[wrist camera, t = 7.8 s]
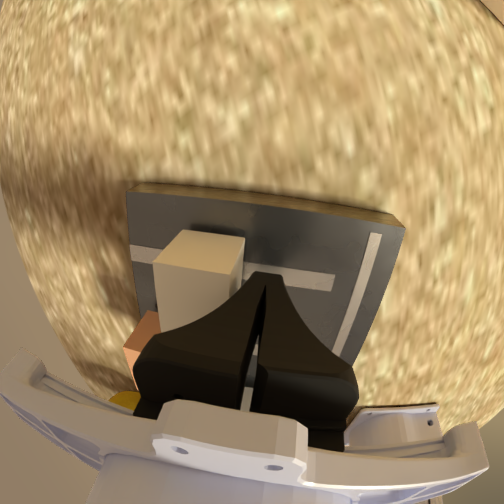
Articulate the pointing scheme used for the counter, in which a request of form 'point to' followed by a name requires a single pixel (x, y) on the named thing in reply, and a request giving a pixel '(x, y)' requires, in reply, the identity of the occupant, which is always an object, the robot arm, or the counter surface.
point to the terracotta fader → (141, 337)
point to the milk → (495, 8)
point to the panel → (278, 252)
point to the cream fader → (196, 276)
